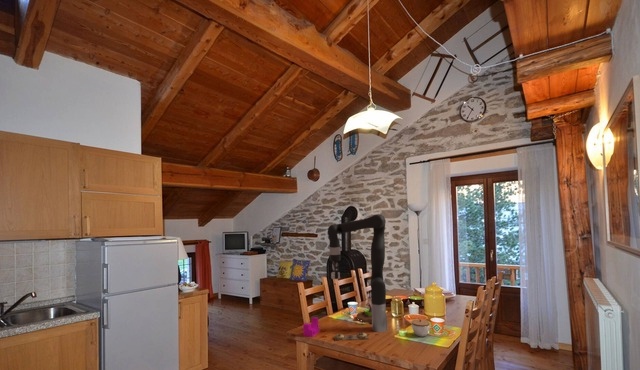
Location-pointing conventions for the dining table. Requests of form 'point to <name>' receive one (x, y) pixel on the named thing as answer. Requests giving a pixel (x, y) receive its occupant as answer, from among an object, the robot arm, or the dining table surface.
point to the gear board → (351, 337)
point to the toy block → (311, 328)
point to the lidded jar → (420, 327)
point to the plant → (365, 315)
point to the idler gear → (334, 275)
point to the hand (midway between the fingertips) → (335, 277)
